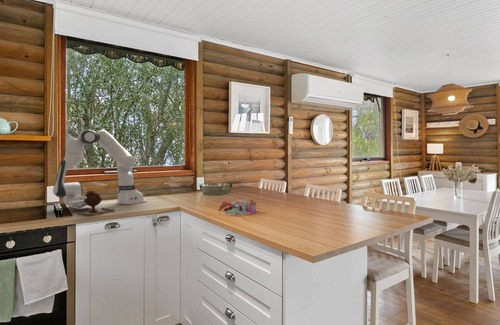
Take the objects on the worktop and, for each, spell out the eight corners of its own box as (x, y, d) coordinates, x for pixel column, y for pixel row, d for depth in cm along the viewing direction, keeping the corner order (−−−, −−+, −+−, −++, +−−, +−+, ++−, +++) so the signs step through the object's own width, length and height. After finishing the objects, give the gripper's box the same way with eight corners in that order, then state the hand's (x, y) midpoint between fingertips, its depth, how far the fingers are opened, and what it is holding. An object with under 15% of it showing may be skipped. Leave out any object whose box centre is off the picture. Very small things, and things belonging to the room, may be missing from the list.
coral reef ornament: (232, 207, 224) (232, 195, 224) (261, 210, 214) (261, 197, 214) (214, 214, 202) (214, 201, 201) (246, 218, 192) (246, 203, 191)
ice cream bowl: (95, 214, 201) (94, 192, 201) (80, 213, 204) (79, 191, 203) (105, 211, 212) (105, 189, 211) (91, 210, 214) (91, 189, 213)
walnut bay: (102, 209, 218) (102, 207, 218) (114, 211, 211) (114, 209, 211) (77, 213, 203) (77, 212, 203) (88, 216, 196) (88, 214, 196)
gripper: (63, 199, 209) (74, 201, 202) (92, 195, 226) (103, 197, 219) (64, 208, 209) (74, 210, 202) (92, 203, 227) (103, 205, 219)
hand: (89, 203), depth 211 cm, fingers open, 8 cm apart
